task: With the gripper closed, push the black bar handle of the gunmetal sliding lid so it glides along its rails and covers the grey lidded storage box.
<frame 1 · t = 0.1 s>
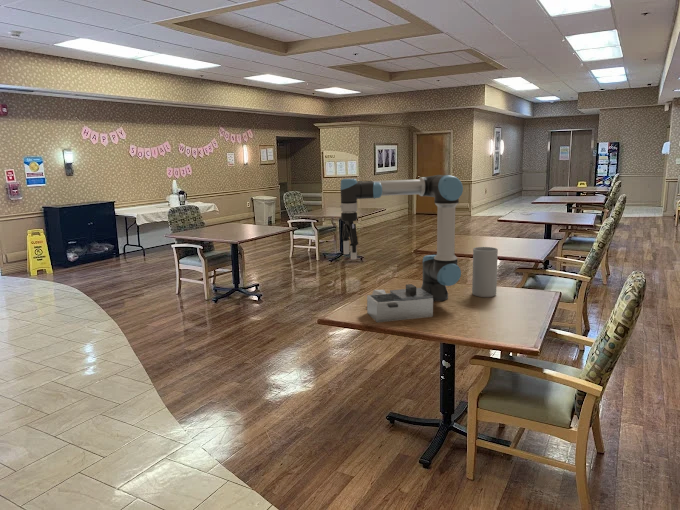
hand: (350, 256, 247), 28 cm above the table, fingers open, 13 cm apart
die: (379, 306, 264), on the table
lid: (411, 290, 247), point 12 cm above the table, slide at 12.0 cm
grey lidded storage box: (387, 316, 246), on the table
cylinder vase: (484, 295, 280), on the table
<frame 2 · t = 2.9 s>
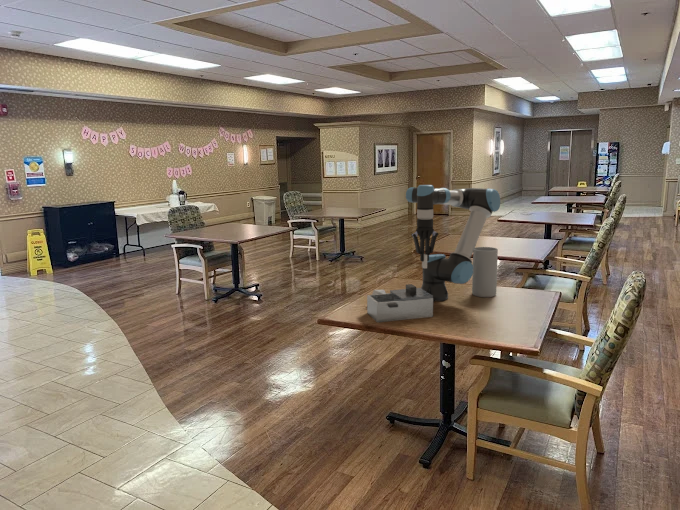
hand: (424, 267, 246), 22 cm above the table, fingers closed
nothing on the table moved.
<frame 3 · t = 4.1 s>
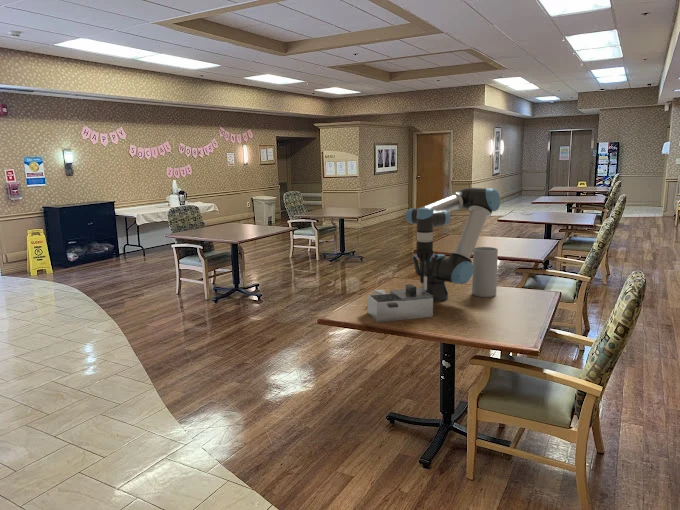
hand: (424, 289, 248), 11 cm above the table, fingers closed
nothing on the table moved.
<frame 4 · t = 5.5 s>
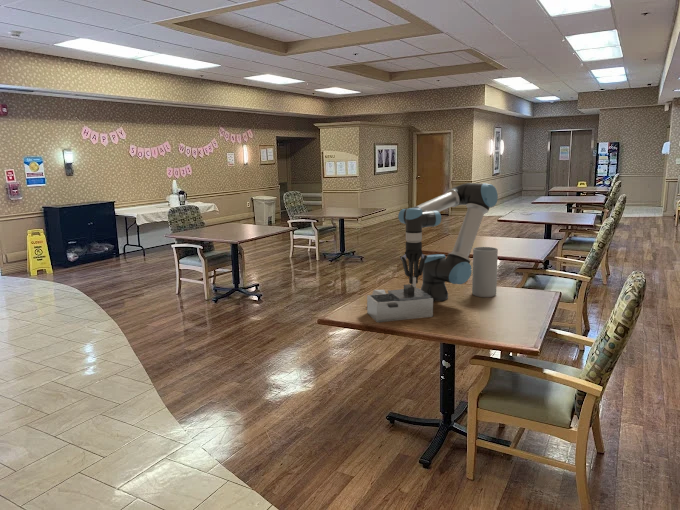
hand: (413, 290, 247), 12 cm above the table, fingers closed
lid: (408, 290, 247), point 12 cm above the table, slide at 10.9 cm, touching gripper
everything else where it was.
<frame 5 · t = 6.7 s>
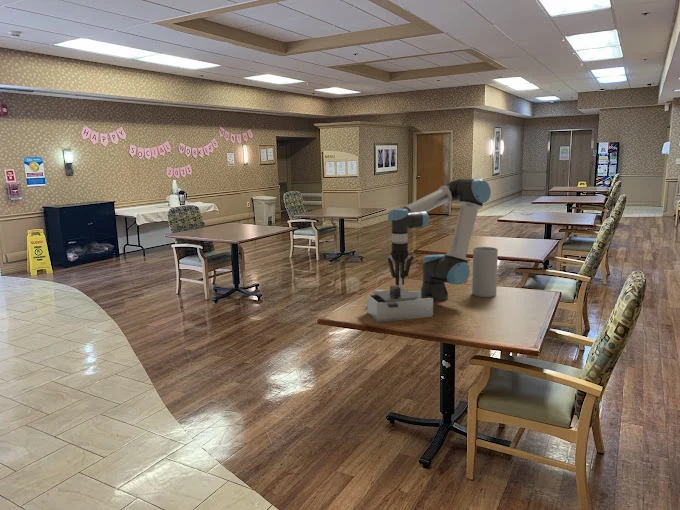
hand: (399, 291, 245), 12 cm above the table, fingers closed
lid: (395, 291, 245), point 12 cm above the table, slide at 4.0 cm, touching gripper
everything else where it was.
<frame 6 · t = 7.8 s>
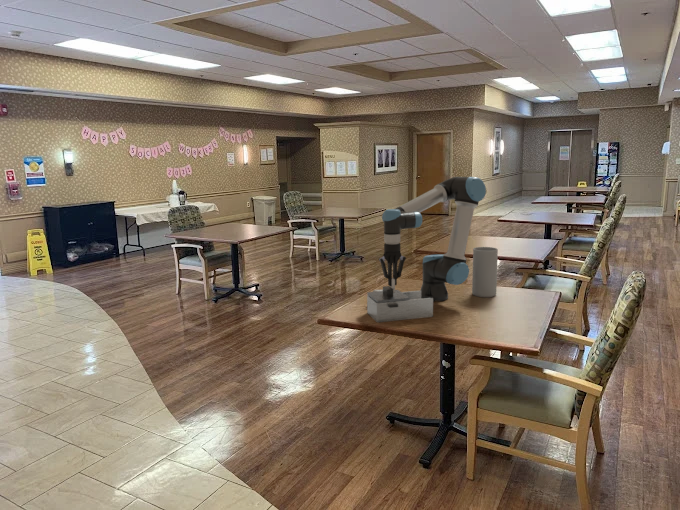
hand: (392, 292, 245), 11 cm above the table, fingers closed
lid: (387, 292, 244), point 12 cm above the table, slide at 0.5 cm, touching gripper
everything else where it was.
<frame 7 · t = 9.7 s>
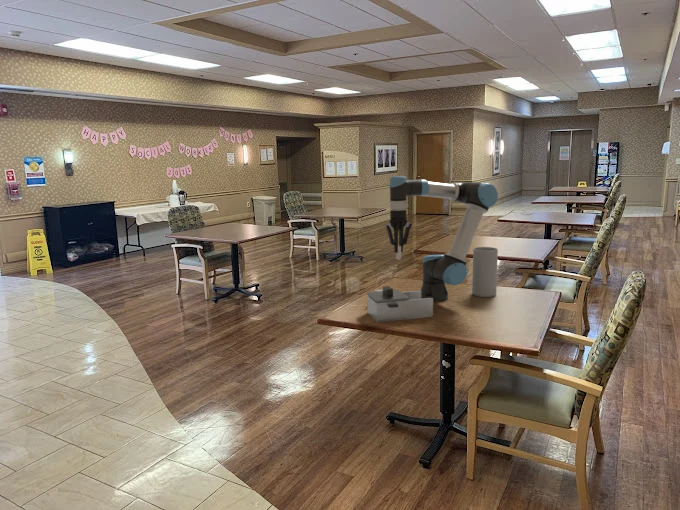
hand: (398, 259, 247), 26 cm above the table, fingers closed
lid: (387, 292, 244), point 12 cm above the table, slide at 0.4 cm
everything else where it was.
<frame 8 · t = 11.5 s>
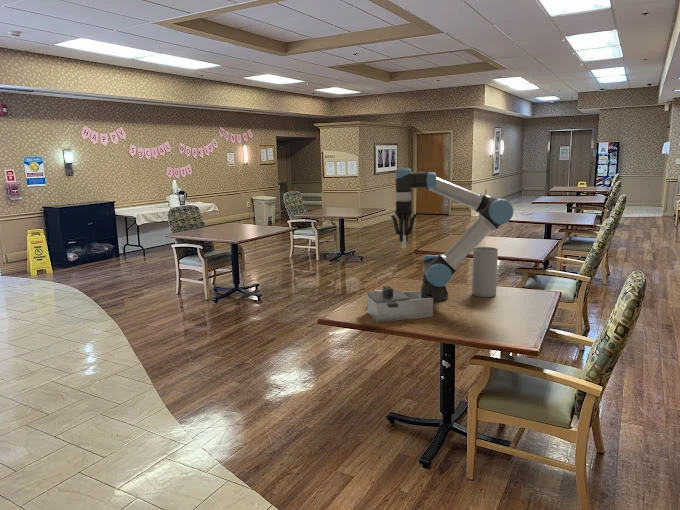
hand: (403, 248, 258), 29 cm above the table, fingers closed
nothing on the table moved.
at the end: lid slide at 0.4 cm; the gripper is holding nothing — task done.
